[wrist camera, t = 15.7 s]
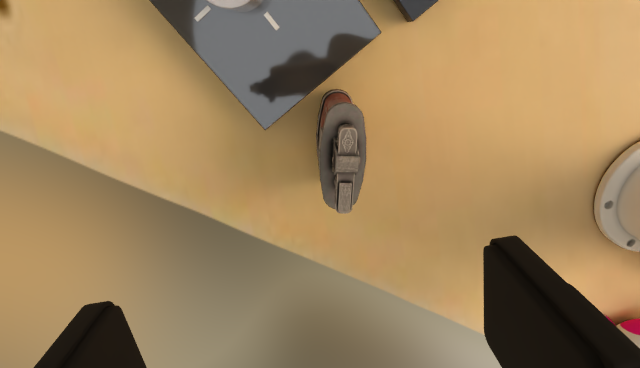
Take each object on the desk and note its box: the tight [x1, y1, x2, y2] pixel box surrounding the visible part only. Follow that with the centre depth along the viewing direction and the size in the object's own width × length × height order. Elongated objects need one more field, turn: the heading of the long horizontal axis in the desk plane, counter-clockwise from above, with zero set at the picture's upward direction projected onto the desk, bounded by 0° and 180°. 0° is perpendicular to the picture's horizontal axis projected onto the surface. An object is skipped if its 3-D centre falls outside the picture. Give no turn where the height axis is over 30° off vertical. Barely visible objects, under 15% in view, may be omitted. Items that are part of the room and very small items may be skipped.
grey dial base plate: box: [150, 0, 381, 130], centre depth 30 cm, size 15×12×3 cm
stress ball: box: [606, 316, 640, 348], centre depth 43 cm, size 8×8×7 cm
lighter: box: [316, 89, 366, 213], centre depth 31 cm, size 8×3×10 cm, turn 178°
